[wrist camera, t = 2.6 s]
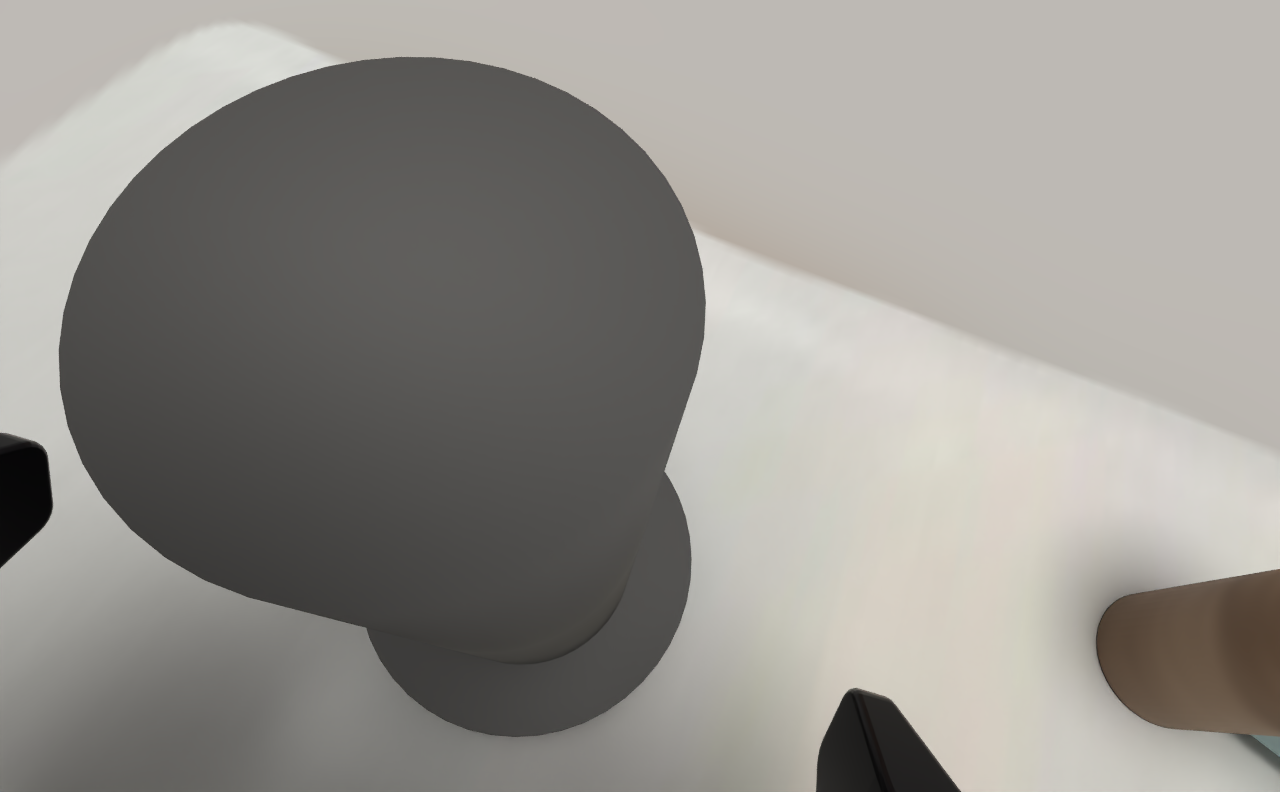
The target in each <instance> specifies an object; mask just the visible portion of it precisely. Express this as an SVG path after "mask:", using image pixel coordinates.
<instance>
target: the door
mask: <svg viewBox="0 0 1280 792" xmlns="http://www.w3.org/2000/svg"><path fill="white" fill-rule="evenodd" d="M1252 736H1253V737H1254V738H1255V739H1257V740H1258V741H1259V742H1261V743H1262V744H1263V745H1264V746H1266V747H1267V748H1268V749H1270V750H1271V751H1272V752H1274V753H1275V754H1276V755H1277V756H1279V757H1280V737H1277V736H1263V735H1252Z"/></svg>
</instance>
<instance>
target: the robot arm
mask: <svg viewBox="0 0 1280 792" xmlns="http://www.w3.org/2000/svg"><path fill="white" fill-rule="evenodd" d="M52 510H53V498H52V489H51V480H50V471H49V462H48V455H47V452H46V450H45V449H44V448H43V446H42V445H40V444H39V443H37V442H35V441H31V440H28V439H25V438H21V437H18V436H15V435H11V434H7V433H0V568H1V567H2V566H3V565H4V564H5V563H6V562H7V561H9V560H10V559H11V558H12V557H13V556H14V555H15V554H16V553H17V552H18V551H19V550H20V549H21V548H22V547H23V546H25V545H26V544H27V543H28V542H29V541H30V540H31V539H32V538H33V537H34V536H35V535H36V534H37V533H38V532H39V531H40V530H41V529H42V528H43V527H44V526H45V525H46V523H47V522H48V520H49V518H50V516H51V514H52ZM816 792H961V791H960V790H959V789H958V787H957V786H956V785H955V783H954V782H953V781H952V779H951V778H950V777H949V775H948V774H947V773H946V771H945V770H944V769H943V767H942V766H941V765H940V763H939V762H938V761H937V759H936V758H935V757H934V755H933V754H932V753H931V751H930V750H929V749H928V747H927V746H926V745H925V743H924V742H923V741H922V739H921V738H920V737H919V735H918V734H917V733H916V731H915V730H914V729H913V727H912V726H911V725H910V723H909V722H908V721H907V719H906V718H905V717H904V715H903V714H902V713H901V711H900V710H899V709H898V707H897V706H896V705H895V704H894V703H893V701H892V700H890V699H889V698H887V697H885V696H882V695H879V694H875V693H872V692H869V691H865V690H862V689H859V688H853V689H850V690H848V692H847V693H846V694H845V695H844V697H843V699H842V701H841V703H840V705H839V707H838V709H837V711H836V713H835V715H834V717H833V720H832V722H831V724H830V726H829V728H828V730H827V732H826V734H825V736H824V738H823V741H822V743H821V746H820V750H819V755H818V762H817V783H816Z"/></svg>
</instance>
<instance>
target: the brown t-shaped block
mask: <svg viewBox="0 0 1280 792" xmlns="http://www.w3.org/2000/svg"><path fill="white" fill-rule="evenodd" d="M1097 650H1098V656H1099V661H1100V664H1101V667H1102V670H1103V673H1104V675H1105V677H1106V679H1107V681H1108V683H1109V685H1110V686H1111V688H1112V689H1113V691H1114V692H1115V693H1116V695H1117V696H1118V697H1119V699H1120V700H1121V701H1122V702H1123V703H1124V704H1125V705H1126V706H1127V707H1128V708H1129V709H1130V710H1132V711H1133V712H1134V713H1136V714H1137V715H1138V716H1140V717H1141V718H1143V719H1145V720H1147V721H1148V722H1150V723H1153V724H1155V725H1158V726H1161V727H1165V728H1171V729H1182V730H1195V731H1209V732H1222V733H1236V734H1250V735H1263V736H1277V737H1280V569H1277V570H1271V571H1265V572H1260V573H1254V574H1248V575H1242V576H1236V577H1230V578H1224V579H1219V580H1213V581H1207V582H1201V583H1195V584H1189V585H1183V586H1177V587H1172V588H1166V589H1160V590H1154V591H1148V592H1142V593H1136V594H1131V595H1128V596H1125V597H1123V598H1121V599H1119V600H1117V601H1116V602H1114V603H1113V604H1112V605H1111V606H1110V607H1109V608H1108V609H1107V611H1106V612H1105V614H1104V615H1103V617H1102V620H1101V622H1100V625H1099V629H1098V635H1097Z"/></svg>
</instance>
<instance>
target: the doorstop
mask: <svg viewBox="0 0 1280 792" xmlns="http://www.w3.org/2000/svg"><path fill="white" fill-rule="evenodd" d="M705 306H706V300H705V290H704V280H703V270H702V265H701V261H700V257H699V253H698V249H697V245H696V241H695V237H694V234H693V231H692V229H691V227H690V224H689V222H688V219H687V217H686V215H685V212H684V210H683V207H682V205H681V203H680V202H679V200H678V198H677V197H676V195H675V193H674V191H673V190H672V188H671V186H670V185H669V183H668V181H667V180H666V178H665V176H664V175H663V174H662V173H661V171H660V170H659V169H658V168H657V166H656V165H655V164H654V163H653V161H652V160H651V159H650V157H649V156H648V155H647V154H646V152H645V151H644V150H643V149H642V148H641V147H640V146H639V145H638V144H637V143H636V142H634V141H633V140H632V139H631V138H630V137H629V136H628V135H627V134H626V133H625V132H624V131H623V130H622V129H621V128H620V127H618V126H617V125H616V124H614V123H613V122H612V121H610V120H609V119H608V118H606V117H605V116H604V115H603V114H601V113H600V112H599V111H597V110H596V109H594V108H593V107H591V106H589V105H588V104H586V103H584V102H582V101H580V100H579V99H577V98H575V97H574V96H572V95H570V94H569V93H567V92H565V91H562V90H560V89H558V88H556V87H553V86H551V85H549V84H547V83H544V82H542V81H540V80H538V79H535V78H532V77H529V76H525V75H522V74H520V73H516V72H513V71H510V70H507V69H504V68H499V67H494V66H490V65H485V64H480V63H476V62H471V61H462V60H453V59H444V58H432V57H430V58H429V57H426V58H424V57H395V58H383V59H371V60H362V61H356V62H351V63H345V64H339V65H334V66H328V67H324V68H321V69H317V70H314V71H310V72H307V73H303V74H299V75H296V76H292V77H289V78H287V79H284V80H282V81H279V82H276V83H274V84H271V85H269V86H266V87H264V88H261V89H258V90H256V91H254V92H252V93H250V94H248V95H246V96H244V97H242V98H240V99H238V100H236V101H234V102H232V103H230V104H228V105H226V106H224V107H222V108H221V109H219V110H217V111H216V112H214V113H213V114H211V115H210V116H208V117H206V118H205V119H203V120H202V121H200V122H199V123H197V124H195V125H194V126H192V127H191V128H189V129H188V130H187V131H186V132H184V133H183V134H182V135H181V136H179V137H178V138H177V139H176V140H174V141H173V142H172V143H171V144H169V145H168V146H167V147H165V148H164V149H163V150H162V151H160V152H159V153H158V154H157V155H156V156H155V157H154V158H153V159H152V160H151V161H150V162H149V163H148V164H147V165H146V166H145V167H144V168H143V169H142V170H141V171H140V172H139V173H138V174H137V175H136V176H135V177H134V178H133V179H132V181H131V182H130V183H129V184H128V186H127V187H126V188H125V189H124V191H123V192H122V193H121V194H120V196H119V197H118V198H117V199H116V201H115V202H114V203H113V204H112V206H111V207H110V208H109V210H108V211H107V213H106V215H105V216H104V218H103V220H102V221H101V223H100V224H99V226H98V228H97V229H96V231H95V233H94V234H93V236H92V237H91V239H90V241H89V243H88V245H87V248H86V250H85V252H84V254H83V257H82V259H81V261H80V263H79V265H78V268H77V270H76V272H75V274H74V278H73V281H72V285H71V288H70V292H69V295H68V299H67V302H66V306H65V309H64V313H63V321H62V329H61V337H60V345H59V369H60V390H61V395H62V400H63V405H64V410H65V414H66V419H67V424H68V428H69V430H70V433H71V435H72V438H73V441H74V443H75V446H76V448H77V451H78V453H79V456H80V458H81V461H82V463H83V465H84V467H85V468H86V470H87V472H88V473H89V475H90V477H91V478H92V480H93V482H94V483H95V485H96V486H97V488H98V490H99V491H100V493H101V495H102V496H103V498H104V499H105V500H106V501H107V503H108V504H109V505H110V506H111V507H112V508H113V509H114V511H115V512H116V513H117V514H118V515H119V516H120V517H121V519H122V520H123V521H124V522H125V523H126V524H127V525H128V527H129V528H130V529H131V530H132V531H133V532H135V533H136V534H137V535H138V536H140V537H141V538H142V539H143V540H144V541H146V542H147V543H148V544H149V545H151V546H152V547H153V548H154V549H155V550H157V551H158V552H159V553H160V554H162V555H163V556H164V557H165V558H167V559H169V560H170V561H172V562H174V563H176V564H177V565H179V566H181V567H183V568H184V569H186V570H188V571H189V572H191V573H193V574H195V575H196V576H198V577H200V578H202V579H203V580H205V581H208V582H210V583H213V584H216V585H218V586H221V587H223V588H226V589H228V590H231V591H234V592H236V593H239V594H241V595H244V596H246V597H249V598H253V599H257V600H261V601H265V602H269V603H273V604H277V605H280V606H284V607H288V608H292V609H296V610H300V611H304V612H308V613H311V614H315V615H319V616H323V617H327V618H331V619H335V620H338V621H342V622H346V623H350V624H354V625H358V626H362V627H366V628H367V631H368V634H369V638H370V640H371V642H372V644H373V646H374V648H375V650H376V652H377V654H378V656H379V658H380V660H381V662H382V663H383V665H384V666H385V667H386V669H387V670H388V672H389V673H390V675H391V676H392V678H393V679H394V680H395V681H396V682H397V683H398V684H399V685H400V686H401V687H402V689H403V690H404V691H405V692H406V693H407V694H408V695H409V696H410V697H412V698H413V699H414V700H415V701H417V702H418V703H419V704H420V705H422V706H423V707H424V708H425V709H427V710H428V711H430V712H432V713H434V714H435V715H437V716H439V717H441V718H442V719H444V720H446V721H448V722H450V723H453V724H455V725H458V726H461V727H463V728H466V729H468V730H472V731H477V732H481V733H485V734H490V735H499V736H511V737H520V736H536V735H543V734H548V733H552V732H557V731H562V730H565V729H568V728H571V727H573V726H576V725H579V724H582V723H585V722H586V721H588V720H590V719H592V718H594V717H596V716H598V715H600V714H602V713H604V712H606V711H607V710H609V709H610V708H611V707H613V706H614V705H616V704H617V703H619V702H620V701H621V700H623V699H624V698H626V697H627V696H628V695H629V694H630V693H631V692H632V691H633V690H634V689H635V688H636V687H637V686H639V685H640V684H641V683H642V682H643V681H644V679H645V678H646V677H647V676H648V675H649V673H650V672H651V671H652V670H653V669H654V667H655V666H656V665H657V664H658V662H659V661H660V659H661V658H662V656H663V654H664V653H665V651H666V650H667V648H668V647H669V645H670V643H671V641H672V639H673V637H674V635H675V632H676V630H677V628H678V626H679V624H680V621H681V618H682V614H683V611H684V608H685V605H686V602H687V596H688V591H689V585H690V578H691V546H690V536H689V531H688V526H687V522H686V517H685V514H684V511H683V508H682V505H681V502H680V500H679V497H678V495H677V493H676V491H675V489H674V487H673V485H672V483H671V481H670V479H669V478H668V476H667V475H666V473H665V472H664V470H665V467H666V464H667V461H668V458H669V455H670V452H671V449H672V446H673V443H674V440H675V437H676V434H677V431H678V428H679V425H680V422H681V419H682V416H683V413H684V410H685V407H686V404H687V401H688V398H689V395H690V392H691V389H692V386H693V383H694V380H695V377H696V374H697V370H698V365H699V360H700V355H701V350H702V345H703V340H704V326H705Z"/></svg>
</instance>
